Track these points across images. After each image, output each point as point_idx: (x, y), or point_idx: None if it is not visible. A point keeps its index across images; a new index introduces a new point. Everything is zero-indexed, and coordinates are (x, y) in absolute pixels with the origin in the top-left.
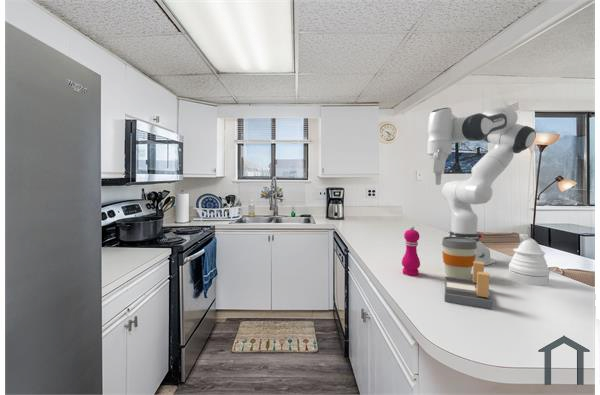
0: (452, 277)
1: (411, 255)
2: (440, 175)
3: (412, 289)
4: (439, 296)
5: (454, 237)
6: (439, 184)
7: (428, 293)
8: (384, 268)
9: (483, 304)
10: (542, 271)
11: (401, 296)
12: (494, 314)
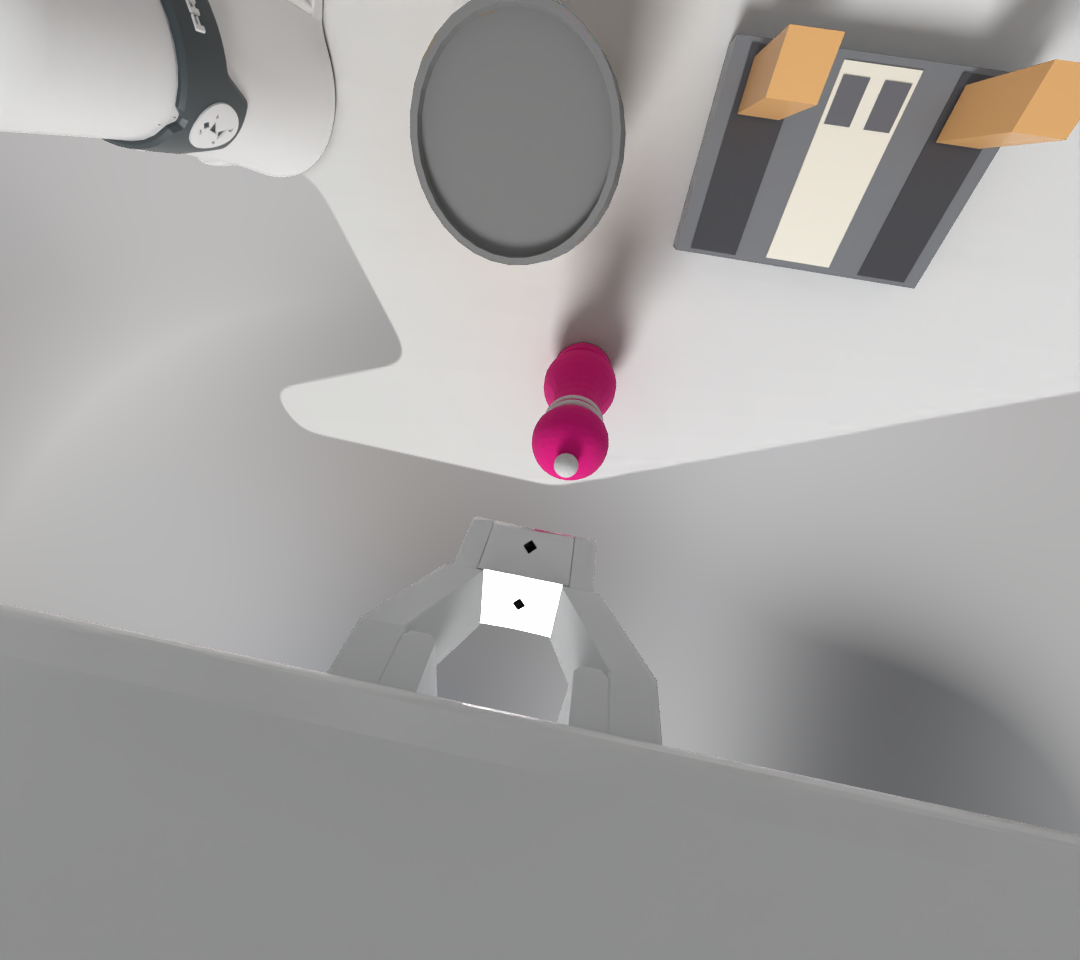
0: (689, 216)
1: (602, 403)
2: (651, 698)
3: (767, 379)
4: (841, 294)
5: (424, 167)
6: (592, 547)
7: (808, 330)
8: None
9: None
10: None
11: (837, 417)
12: None
